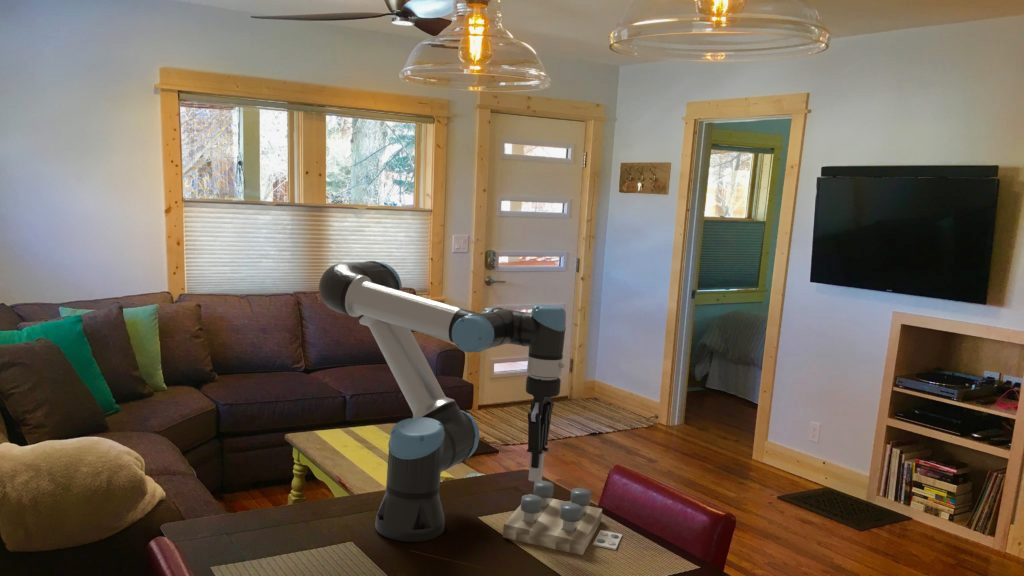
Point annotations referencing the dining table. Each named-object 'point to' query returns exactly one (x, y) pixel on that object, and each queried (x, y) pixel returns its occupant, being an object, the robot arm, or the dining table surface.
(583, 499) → the button
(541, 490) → the button
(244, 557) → the dining table surface
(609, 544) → the tile
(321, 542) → the dining table surface
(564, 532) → the board
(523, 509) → the button
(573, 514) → the button
